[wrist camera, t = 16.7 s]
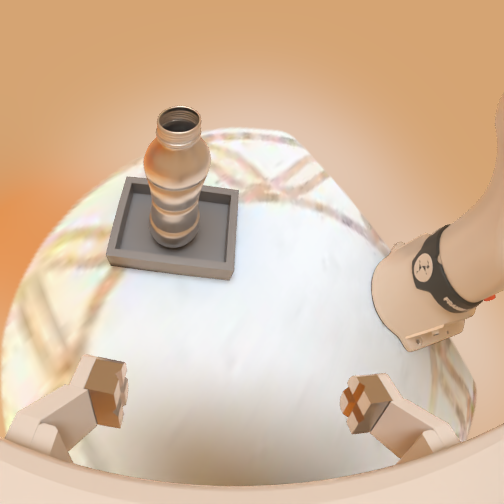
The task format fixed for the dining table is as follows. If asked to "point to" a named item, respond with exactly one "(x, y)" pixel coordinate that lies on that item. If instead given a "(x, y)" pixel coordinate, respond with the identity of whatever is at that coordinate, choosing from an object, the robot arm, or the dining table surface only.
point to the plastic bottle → (176, 176)
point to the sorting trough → (181, 258)
